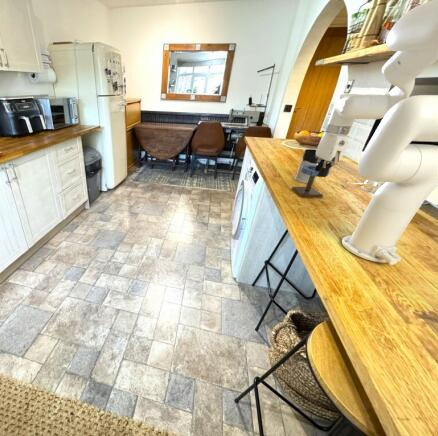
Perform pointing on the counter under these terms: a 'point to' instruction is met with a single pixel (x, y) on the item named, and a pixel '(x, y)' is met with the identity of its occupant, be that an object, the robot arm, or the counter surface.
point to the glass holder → (306, 160)
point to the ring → (310, 170)
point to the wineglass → (367, 185)
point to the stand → (307, 190)
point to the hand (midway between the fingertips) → (319, 175)
